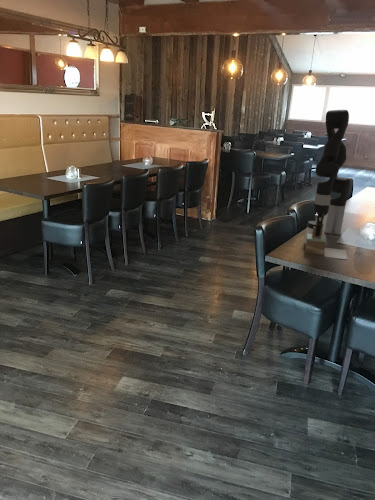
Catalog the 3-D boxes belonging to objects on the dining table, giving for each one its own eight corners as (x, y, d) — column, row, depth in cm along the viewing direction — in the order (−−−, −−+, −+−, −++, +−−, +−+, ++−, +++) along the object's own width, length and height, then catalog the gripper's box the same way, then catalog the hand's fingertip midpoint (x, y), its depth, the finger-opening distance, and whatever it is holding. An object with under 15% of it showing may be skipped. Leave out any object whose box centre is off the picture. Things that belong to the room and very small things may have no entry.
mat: (323, 248, 220) (323, 247, 220) (345, 250, 218) (345, 250, 218) (324, 257, 207) (324, 256, 207) (347, 260, 204) (347, 259, 204)
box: (305, 247, 220) (307, 234, 218) (323, 249, 218) (325, 237, 216) (305, 252, 212) (307, 239, 210) (323, 255, 210) (325, 242, 207)
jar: (318, 241, 230) (321, 221, 226) (322, 246, 223) (326, 225, 219) (302, 240, 230) (305, 220, 226) (306, 245, 223) (309, 224, 219)
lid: (306, 237, 218) (308, 224, 216) (325, 239, 216) (327, 226, 214) (306, 242, 210) (308, 229, 207) (325, 245, 208) (327, 231, 205)
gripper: (314, 199, 214) (309, 229, 219) (314, 205, 201) (309, 236, 206) (329, 200, 212) (324, 230, 217) (330, 206, 199) (325, 238, 204)
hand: (317, 233), depth 212 cm, fingers open, 8 cm apart
